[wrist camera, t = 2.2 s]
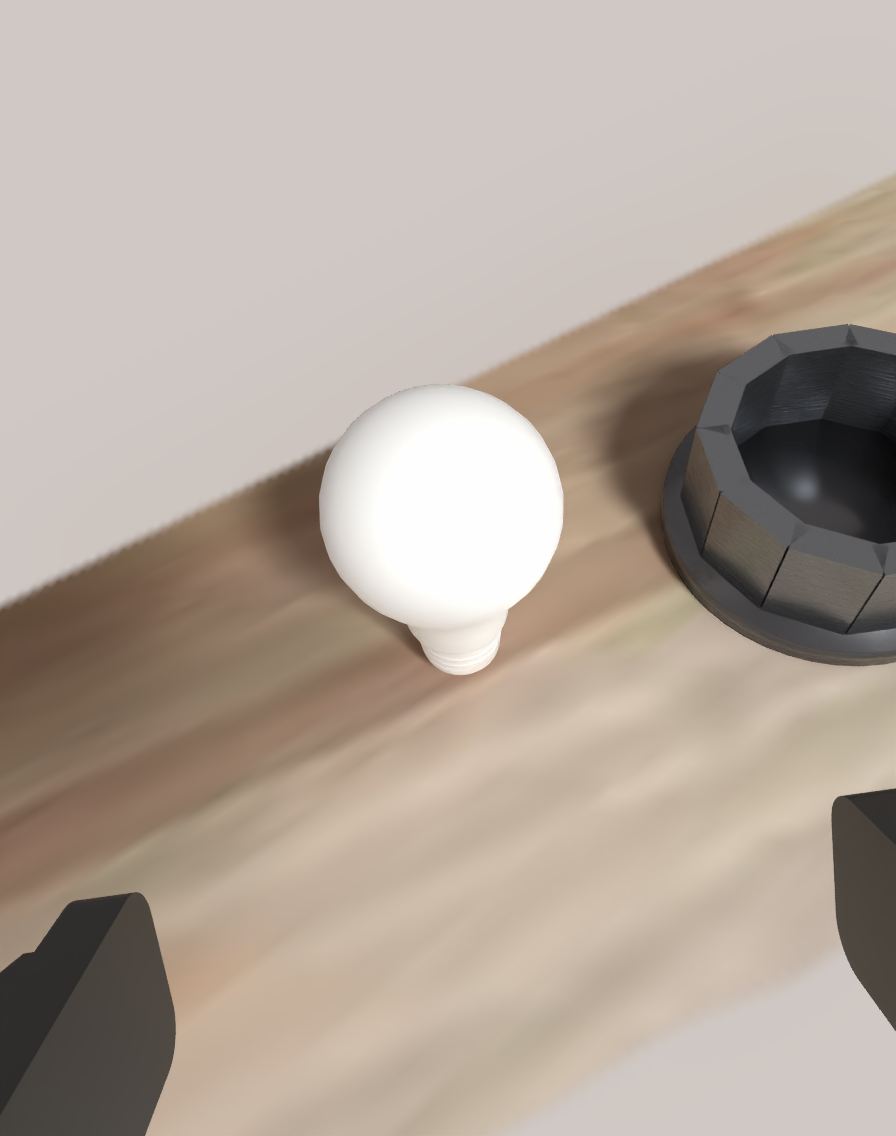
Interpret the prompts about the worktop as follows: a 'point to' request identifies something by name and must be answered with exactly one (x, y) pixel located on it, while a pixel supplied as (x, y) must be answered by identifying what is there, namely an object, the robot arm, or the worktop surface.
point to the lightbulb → (442, 516)
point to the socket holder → (795, 496)
